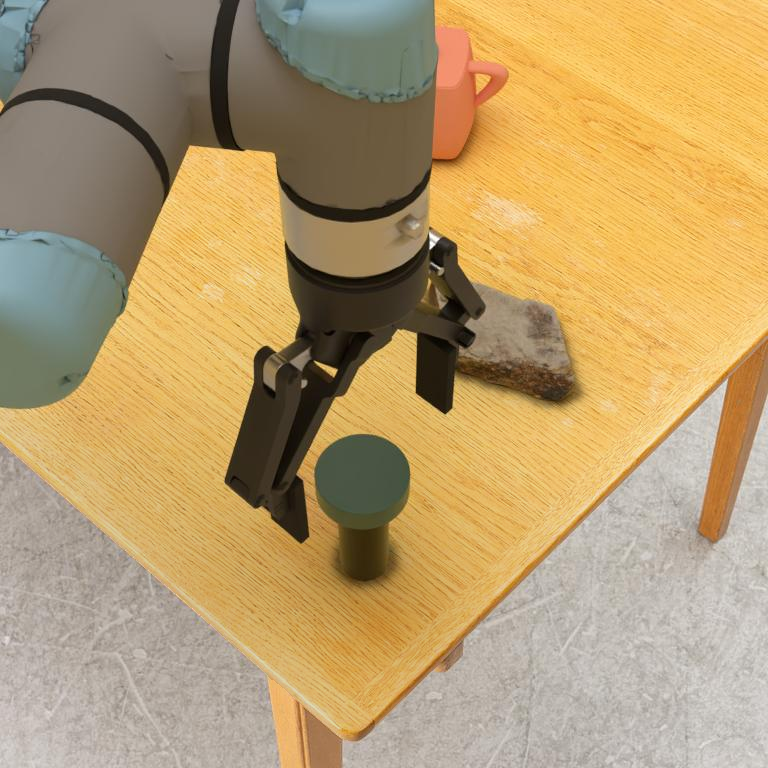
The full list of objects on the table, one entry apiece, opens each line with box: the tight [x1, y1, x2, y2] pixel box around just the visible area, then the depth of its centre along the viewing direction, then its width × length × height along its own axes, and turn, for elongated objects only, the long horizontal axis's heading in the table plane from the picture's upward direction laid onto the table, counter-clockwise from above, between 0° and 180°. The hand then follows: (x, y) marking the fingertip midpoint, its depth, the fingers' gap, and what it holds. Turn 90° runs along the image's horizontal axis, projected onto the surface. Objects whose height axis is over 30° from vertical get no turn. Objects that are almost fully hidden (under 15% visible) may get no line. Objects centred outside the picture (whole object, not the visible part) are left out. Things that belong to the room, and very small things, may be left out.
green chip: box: [313, 433, 411, 529], centre depth 79 cm, size 6×6×2 cm
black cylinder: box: [337, 522, 390, 582], centre depth 84 cm, size 4×4×10 cm
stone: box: [428, 279, 576, 402], centre depth 99 cm, size 15×8×3 cm, turn 68°
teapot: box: [432, 24, 510, 160], centre depth 113 cm, size 12×18×10 cm, turn 81°
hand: (364, 462), depth 77 cm, fingers open, 13 cm apart
